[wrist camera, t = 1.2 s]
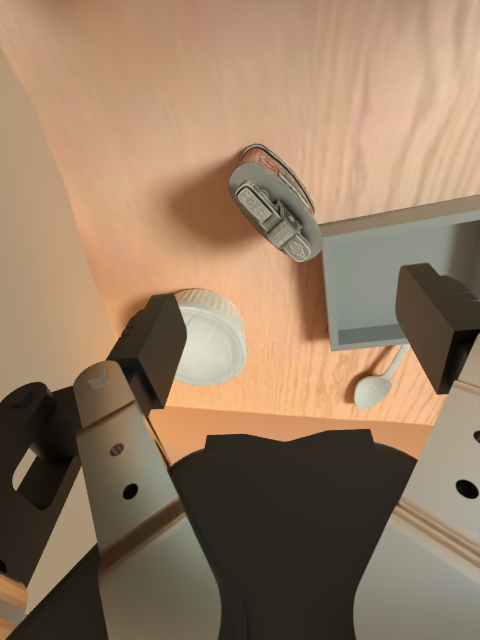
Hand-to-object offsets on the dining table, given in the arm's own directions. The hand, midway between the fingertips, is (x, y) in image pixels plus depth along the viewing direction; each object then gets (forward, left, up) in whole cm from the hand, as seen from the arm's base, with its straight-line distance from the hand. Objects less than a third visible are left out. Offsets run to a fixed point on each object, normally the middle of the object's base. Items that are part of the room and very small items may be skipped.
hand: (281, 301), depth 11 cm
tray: (-10, +11, -19) cm, 24 cm away
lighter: (0, +1, -19) cm, 19 cm away
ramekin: (+11, +14, -19) cm, 26 cm away
